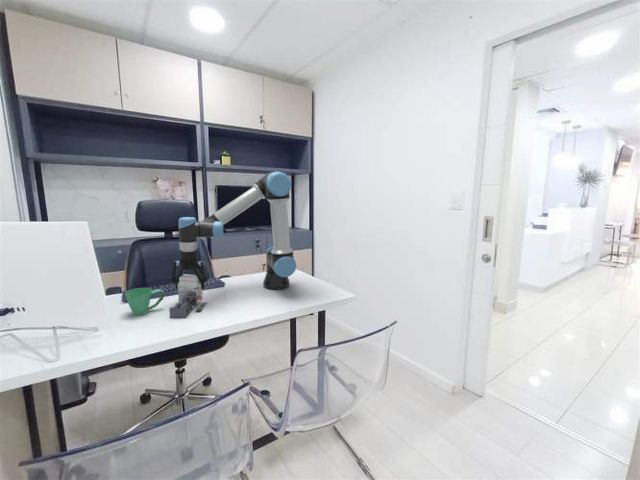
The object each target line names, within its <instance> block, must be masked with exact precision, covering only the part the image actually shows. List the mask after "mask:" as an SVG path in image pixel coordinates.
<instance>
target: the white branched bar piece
mask: <svg viewBox="0 0 640 480" xmlns="http://www.w3.org/2000/svg"><path fill="white" fill-rule="evenodd" d="M177 295H178V303H181V306H180V307H186V306H187V305H188V304H189V303H193V307H197V306H198V301H202V300H203V295H202V296H197V291H179V292H178V291H177ZM197 298H199V300H198V301H197Z"/></svg>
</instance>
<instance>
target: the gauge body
mask: <svg viewBox="0 0 640 480" xmlns="http://www.w3.org/2000/svg"><path fill="white" fill-rule="evenodd" d="M207 304H208V302H206V301H205V302H204V301H203V302H201V304H200V305H199V306H198V307H197V308H196V310H195V314H197V313H198V314H199V313H202V311H203V310H204V308H205V306H206V305H207ZM180 306H181V303H179V302H177V303H176V304H175V305H174V306H170V307H169V319H187V318H188V316H189V315H190V314H191V313H192V312H193V310H194V306H193V303H189V304H188V305H187V306H186V307H180Z"/></svg>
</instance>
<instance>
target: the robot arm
mask: <svg viewBox="0 0 640 480" xmlns="http://www.w3.org/2000/svg"><path fill="white" fill-rule="evenodd" d="M291 188H292V182H291V178H290V177H289V176H288V175H287V174H286V173H284V172H282V171H271V172H268V173H266V174H265V175H264V176H263V177H261V178H260V179H259V180H258V181H256V182H255V183H253V186H252V187H250V188H249V189H248V190H247V191H245V192H243V193H242V194H241V195H239V196H238V197H236V198H235V199H233V200H231V201H230V202H229V203H226V205H224V206H223V207H221V208H220V209H218V210H217V211H216V212H214V213H213V214H211V215H209V216H208V217H205V218H204V219H203V220H202V221H197V218H196V217H194V216H183V217H179V219H178V238H179V250H180V251H179V258H180V259H179V260H175V261H173V263H172V264H173V270H172V275H171V280H170V282H172V283H175V289H176V290H177V293H178V292H179V291H180V283H179V277H181V276H182V275H184V273H185V271H187V270H192V271H193V272H194V275H196V276H197V277H198V279H199V281H200V283H199V296H202V297H203V294H204V291H203V290H204V289H205V283H207V282H208V281H209V276H208V274H207V273H208V272H207V271H206V266H205V265H206V264H205V263H206V262H205V261H204V260H202V261H201V260H200V261H199V259H198V257H199V256H198V250H197V249H198V238H221V237H223V236H224V225H225V224H227V223H228V222H230V221H231V220H233V219H234V218H236V217H237V216H239V215H240V214H242V213H244V212H245V211H246V210H248V209H249V208H250V207H251V206H253V205H254V204H256V203H258V202H259V201H260V200H261V199H262V200H267V201H268V202H269V206H270V218H271V220H270V221H271V231H272V243H273V244H272V245H273V246H271V247H270V246H269V247H268V248H267V249H266V252H265V253H266V273H265V276H264V279H263V282H262V283H263V288H265V289H267V290H272V291H273V290H274V291H279V290H280V291H281V290H284V289H287V288H289V287H290V279H289V277H291V276H292V275H293V274H294V273H296V271H297V262H296V260H295V258H294V257H295V256H294V249H293V248H292V247H291V242H290V229H289V227H290V226H289V215H288V213H289V212H288V201H289V200H290V198H291V197H290V191H291ZM180 265H181V269H180V271H179V273H178V270H179V266H180ZM198 265H199V267H200V270H201V272H200V270H199V268H198Z"/></svg>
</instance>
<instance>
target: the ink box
mask: <svg viewBox="0 0 640 480" xmlns="http://www.w3.org/2000/svg"><path fill="white" fill-rule="evenodd" d="M179 283H180V291H197V296H199V283H200V281H199V279H198V277H197V276H196V274H184V273H183V275H182V276H181V277H179ZM198 301H200V300H199V298H197V302H198Z"/></svg>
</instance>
